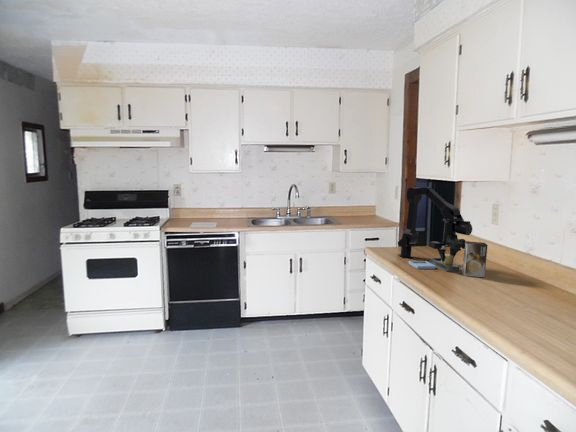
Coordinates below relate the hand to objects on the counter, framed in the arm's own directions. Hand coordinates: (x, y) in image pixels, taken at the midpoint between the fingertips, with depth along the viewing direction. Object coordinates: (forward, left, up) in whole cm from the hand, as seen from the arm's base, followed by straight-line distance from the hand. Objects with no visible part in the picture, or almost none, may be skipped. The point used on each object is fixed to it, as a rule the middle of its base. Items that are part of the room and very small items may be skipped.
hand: (446, 261), depth 202 cm
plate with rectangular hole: (-3, 0, -4) cm, 5 cm away
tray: (-4, -12, -4) cm, 13 cm away
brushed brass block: (0, 0, -4) cm, 4 cm away
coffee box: (+12, +7, -4) cm, 14 cm away
